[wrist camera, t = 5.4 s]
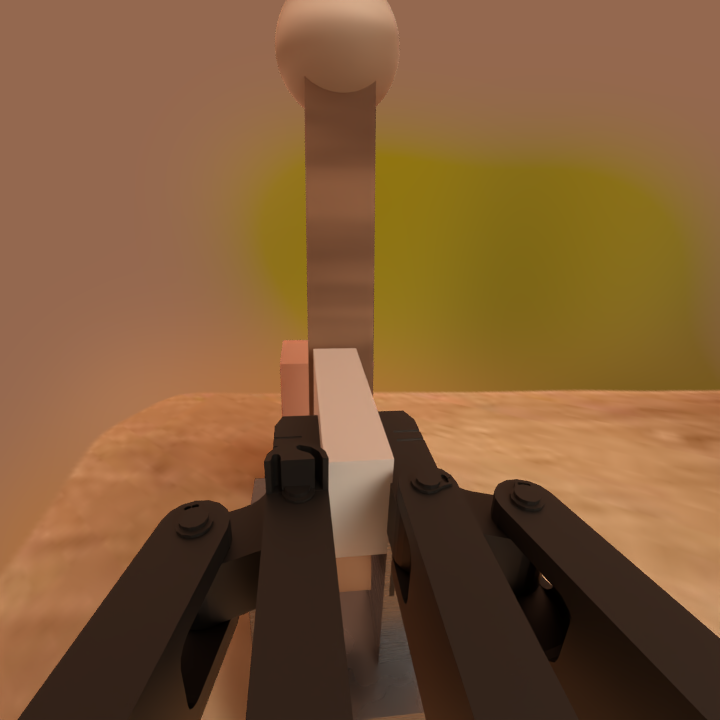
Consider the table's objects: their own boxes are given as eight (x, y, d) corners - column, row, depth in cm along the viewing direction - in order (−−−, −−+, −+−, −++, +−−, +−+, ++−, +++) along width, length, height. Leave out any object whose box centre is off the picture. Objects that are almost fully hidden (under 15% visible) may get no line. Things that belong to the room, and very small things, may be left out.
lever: (400, 604, 17) (415, -62, 13) (285, 614, 16) (267, -77, 13) (380, 540, 21) (387, 24, 18) (289, 546, 21) (277, 16, 17)
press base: (451, 730, 18) (480, 581, 15) (231, 758, 17) (208, 604, 13) (380, 464, 34) (386, 365, 31) (267, 469, 33) (260, 367, 30)
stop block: (367, 482, 30) (373, 362, 26) (285, 486, 29) (279, 364, 26) (360, 449, 33) (365, 339, 30) (287, 452, 33) (282, 340, 29)
